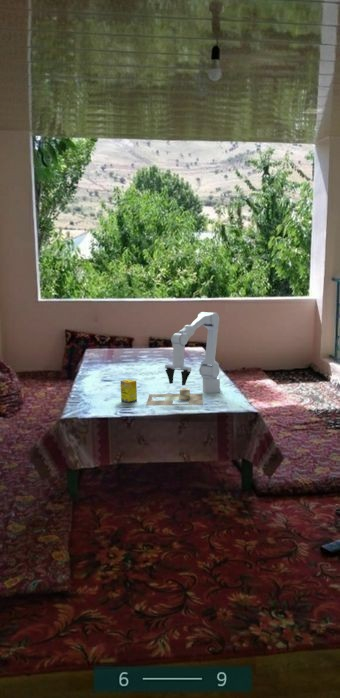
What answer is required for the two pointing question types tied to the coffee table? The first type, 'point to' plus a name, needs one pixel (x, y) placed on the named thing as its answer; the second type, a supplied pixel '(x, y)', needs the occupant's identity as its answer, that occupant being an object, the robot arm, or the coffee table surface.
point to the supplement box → (128, 391)
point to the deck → (194, 399)
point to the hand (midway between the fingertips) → (177, 384)
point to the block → (184, 393)
